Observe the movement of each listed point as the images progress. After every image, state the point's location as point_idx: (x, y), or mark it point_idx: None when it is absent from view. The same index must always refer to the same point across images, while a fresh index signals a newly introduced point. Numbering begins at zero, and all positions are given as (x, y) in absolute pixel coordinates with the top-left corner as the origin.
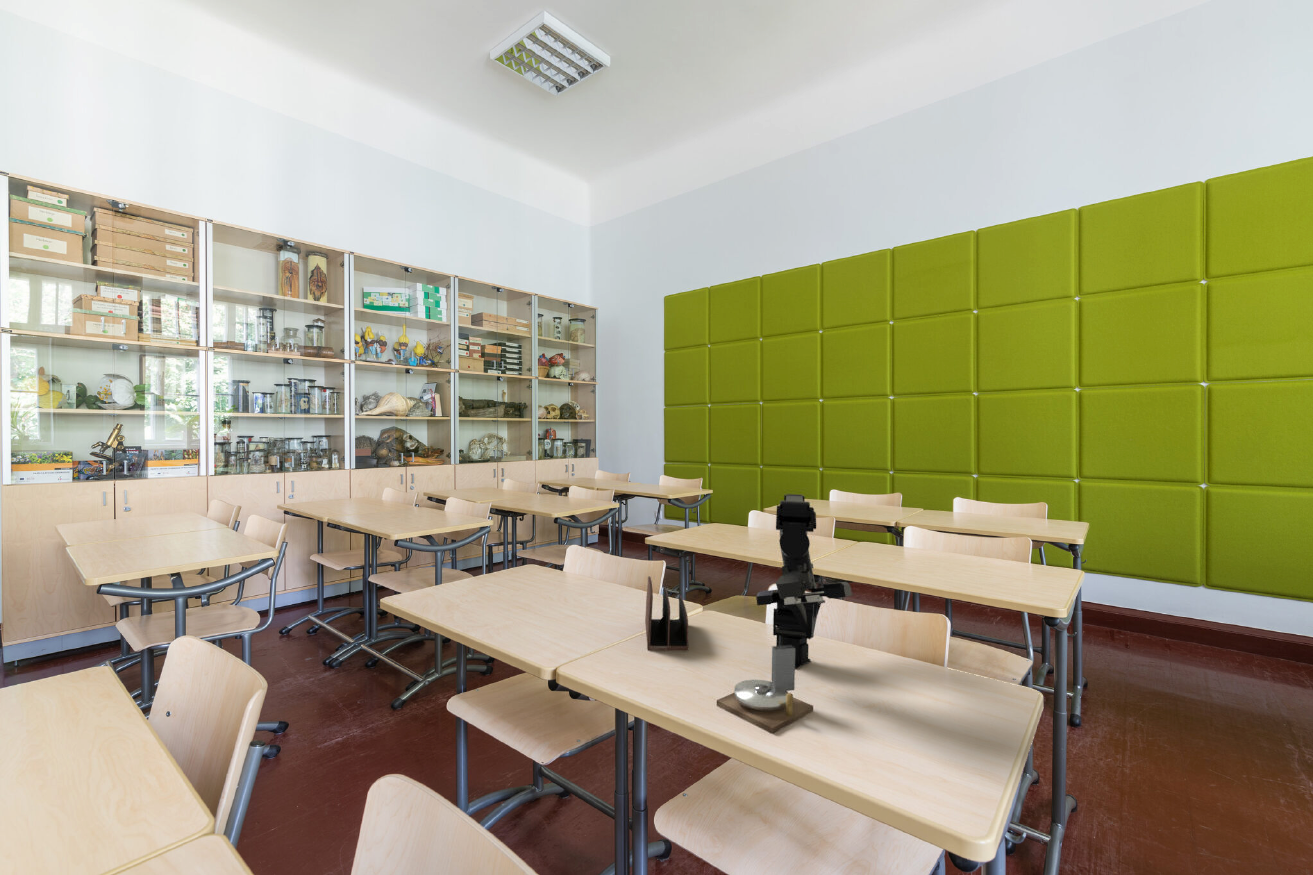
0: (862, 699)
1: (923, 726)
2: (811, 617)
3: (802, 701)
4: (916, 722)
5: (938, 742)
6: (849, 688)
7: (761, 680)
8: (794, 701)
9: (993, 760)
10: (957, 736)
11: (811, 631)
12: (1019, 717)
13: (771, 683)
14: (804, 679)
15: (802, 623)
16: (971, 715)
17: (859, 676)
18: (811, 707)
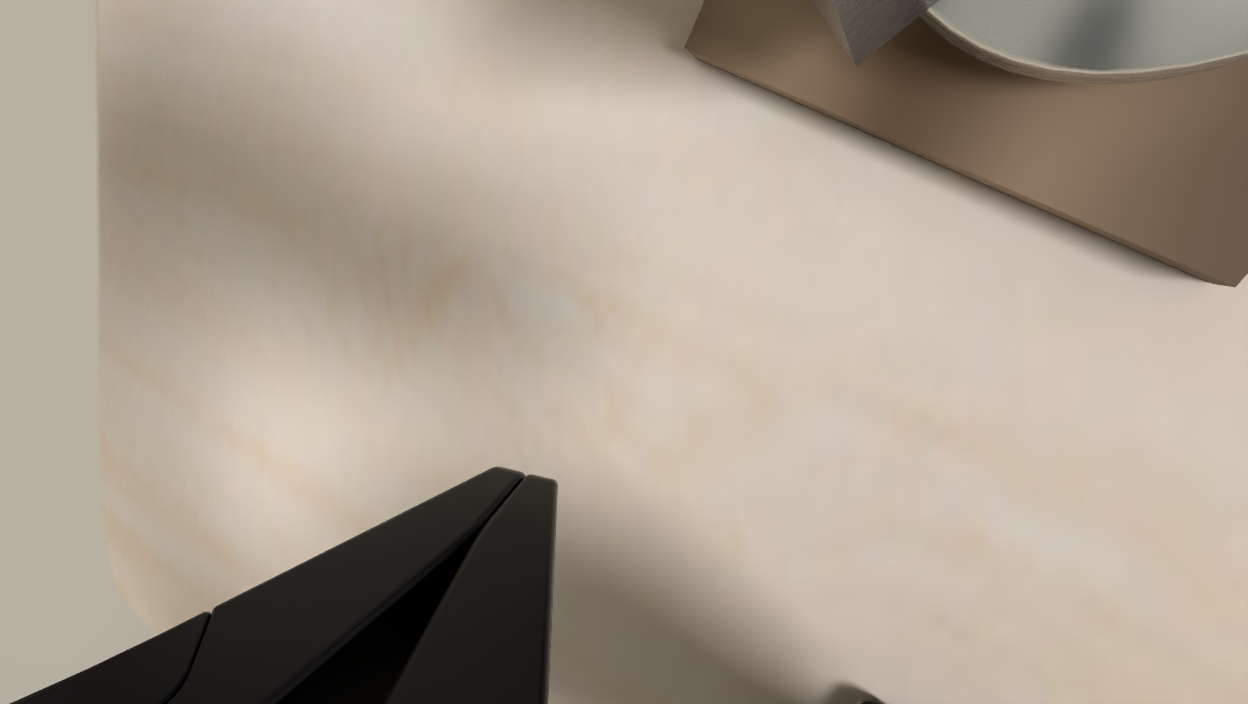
0: (473, 352)
1: (274, 182)
2: (98, 682)
3: (762, 75)
4: (293, 207)
5: (231, 66)
6: (535, 468)
7: (1230, 39)
8: (823, 43)
9: (126, 35)
10: (198, 158)
11: (423, 505)
12: (110, 391)
13: (1077, 27)
14: (787, 534)
15: (482, 652)
16: (184, 354)
17: None
18: (696, 27)
